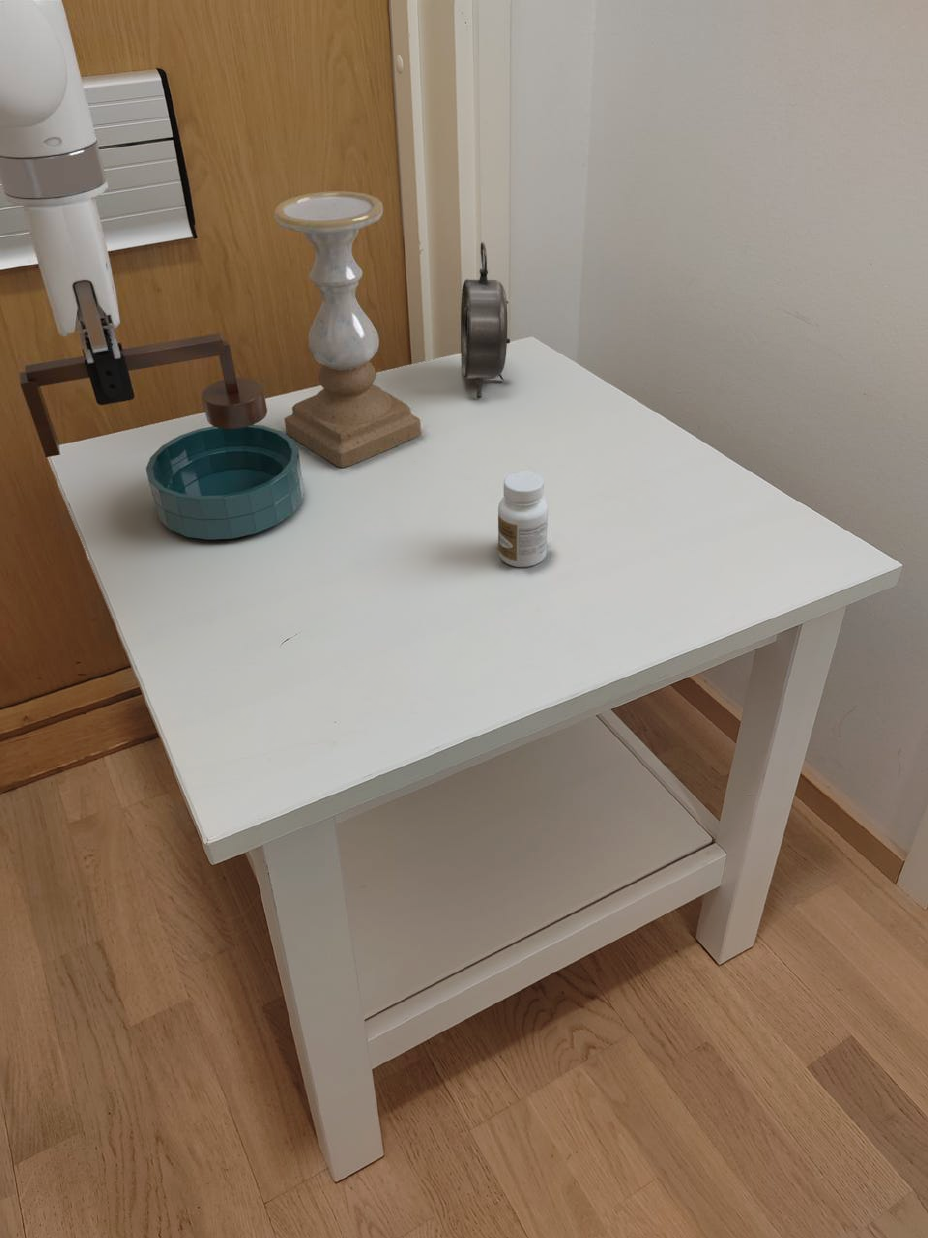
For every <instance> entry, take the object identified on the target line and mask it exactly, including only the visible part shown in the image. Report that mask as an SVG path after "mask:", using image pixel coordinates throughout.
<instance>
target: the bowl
mask: <svg viewBox="0 0 928 1238" xmlns="http://www.w3.org/2000/svg"><path fill="white" fill-rule="evenodd" d="M145 472H146V477H147V481H148V485H149V488H150V493H151V495H152V500H153V503H154V506H155V510H156V513H157V517H158V520H159V521H160V522H161V523H162V524H163V525H164V526H165V527H166V528H168V530H170V531H172V532H174V533H177V534H178V535H182V536H184V537H188V538H194V539H201V540H208V541H209V540H228V539H236V538H240V537H245V536H251V535H254V534H257V533H260V532H262V531H265V530H267V529H270V528H272V527H274V526H277V525H279V524H280V523H281V522H282V521H284V520H285V519H287V518H289V517H290V516H291V515H292V514H293V513H294V512H295V511H296V509H297V508H298V507H299V506H300V504H301V503H302V501H303V496H304V490H305V488H304V482H303V481H304V479H303V473H302V468H301V460H300V454H299V450H298V446H297V445H296V442H295V440H294V439H293V438H292V437H291V436H289V435H288V434H287V433H286V434H285V433H284V431H281V430H278V429H275V428H272V427H269V426H266V425H260V424H254V425H251V426H248V427H244V428H238V429H223V428H218V427H215V426H213V425H211V426H207V427H202V428H197V429H195V430H192V431H189V432H186V433H184V434H181V435H178V436H177V437H175V438H173V439H171V440H169V441H167V442H166V443H164V444H162V445H161V446H160V447H159V448H158V449H157V450H156V451H155V452H154V453H153V454H151V455H150V457H149V460H148V461H147V465H146V467H145Z"/></svg>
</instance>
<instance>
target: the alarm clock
mask: <svg viewBox="0 0 928 1238" xmlns="http://www.w3.org/2000/svg"><path fill="white" fill-rule="evenodd" d="M480 258H481V259H480V261H481V268H480V269H479V279H467V278H465V280H464V281H463V285H462V290H461V291H462V292H461V304H460V305H461V307H460V309H461V310H460V312H461V313H460V314H461V315H460V354H461V355H460V356H461V372H462V377H463V378H464V379H465V380H470V379H471V380H472V379H473V380H475V386H476V399H481V398H482V396H483V394H482V388H483V380H494V379H495V380H496V379H497V378H498V377H499V378H500V379H501V380H502V381H503V382H505V380H504V378H503V376H502V373H503V371H504V368H505V364H506V359H507V348H508V344H510V343H511V339H510V338H508V304H509V301H508V300H507V294H506V290H505V287H504V285H503V284H502V282H500V281H499V280H497V279H488V274H489V269H488V253H487V247H486V243H485V242H484V241H482V242H481V243H480Z"/></svg>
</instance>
